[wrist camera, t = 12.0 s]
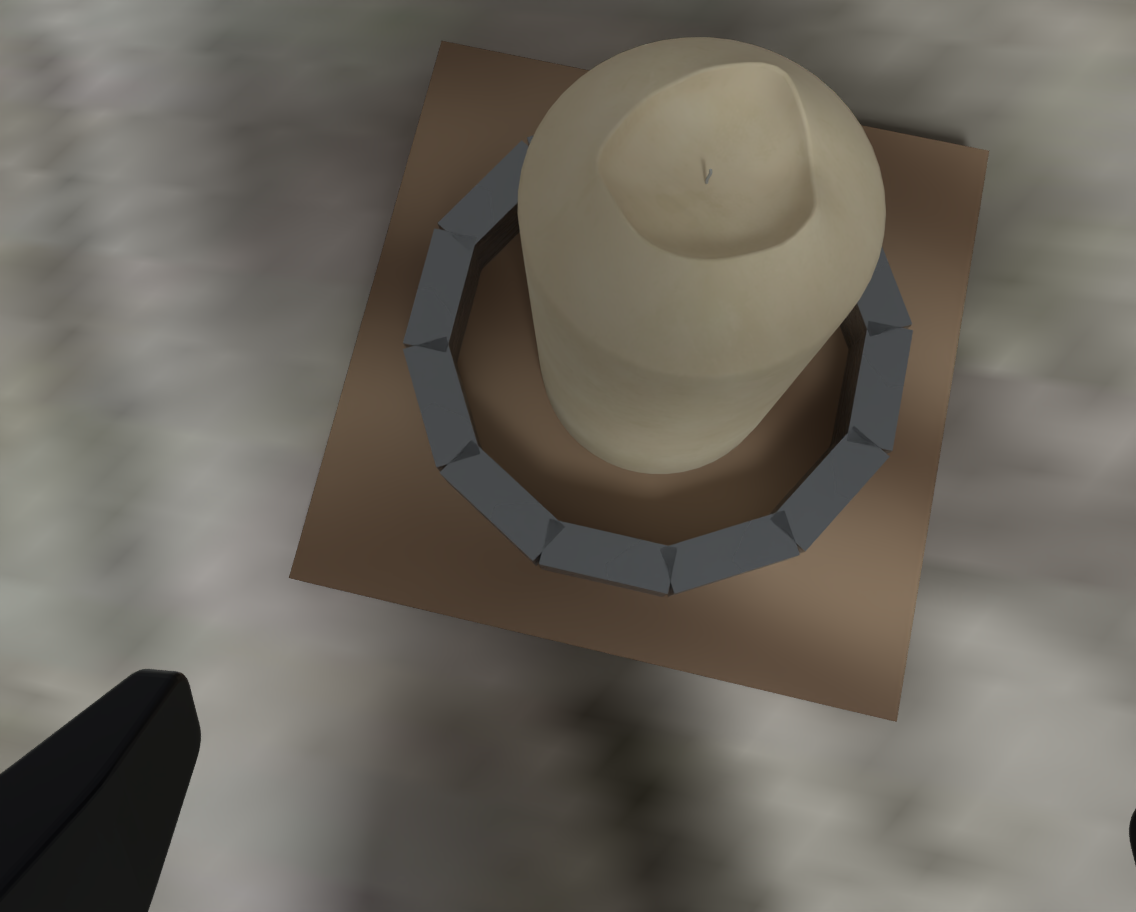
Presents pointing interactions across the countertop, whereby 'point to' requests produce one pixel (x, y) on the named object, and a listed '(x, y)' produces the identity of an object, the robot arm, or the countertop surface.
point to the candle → (691, 244)
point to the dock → (622, 497)
